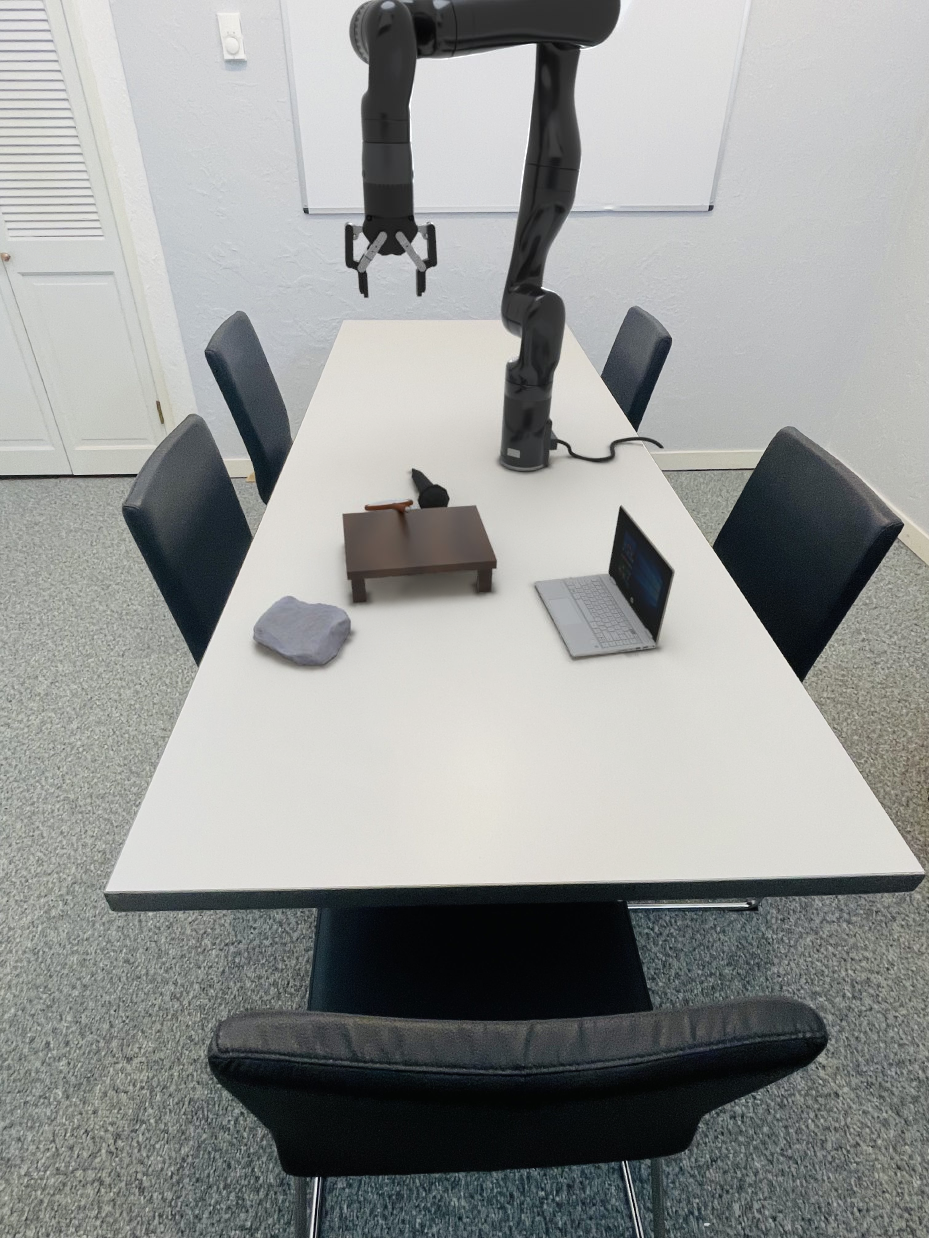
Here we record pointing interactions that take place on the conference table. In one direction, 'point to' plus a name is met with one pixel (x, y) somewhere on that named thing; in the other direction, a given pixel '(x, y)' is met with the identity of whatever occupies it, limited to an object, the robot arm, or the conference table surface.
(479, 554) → the walnut table
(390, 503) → the magnifying glass
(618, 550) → the laptop
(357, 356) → the conference table surface
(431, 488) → the microphone
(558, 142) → the robot arm
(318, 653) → the stone block
